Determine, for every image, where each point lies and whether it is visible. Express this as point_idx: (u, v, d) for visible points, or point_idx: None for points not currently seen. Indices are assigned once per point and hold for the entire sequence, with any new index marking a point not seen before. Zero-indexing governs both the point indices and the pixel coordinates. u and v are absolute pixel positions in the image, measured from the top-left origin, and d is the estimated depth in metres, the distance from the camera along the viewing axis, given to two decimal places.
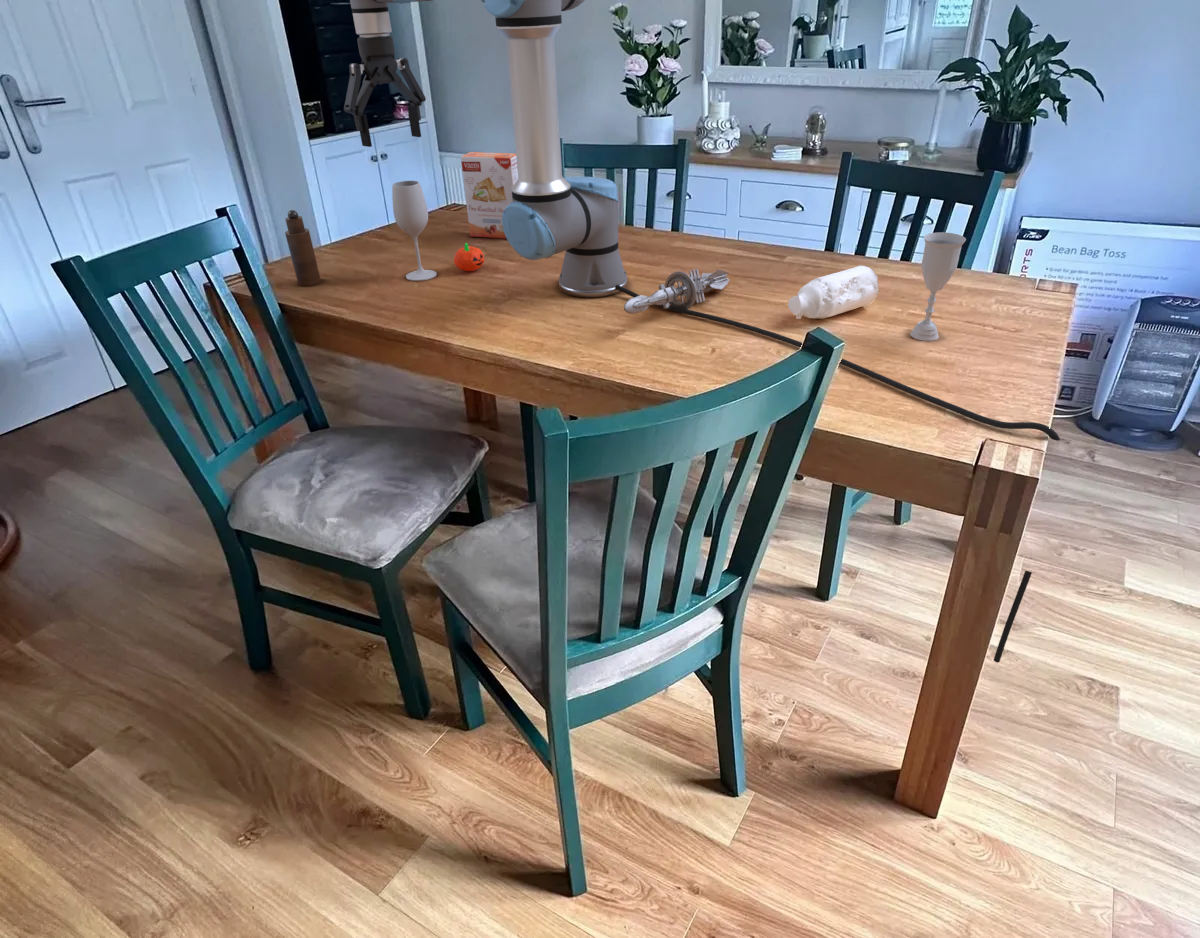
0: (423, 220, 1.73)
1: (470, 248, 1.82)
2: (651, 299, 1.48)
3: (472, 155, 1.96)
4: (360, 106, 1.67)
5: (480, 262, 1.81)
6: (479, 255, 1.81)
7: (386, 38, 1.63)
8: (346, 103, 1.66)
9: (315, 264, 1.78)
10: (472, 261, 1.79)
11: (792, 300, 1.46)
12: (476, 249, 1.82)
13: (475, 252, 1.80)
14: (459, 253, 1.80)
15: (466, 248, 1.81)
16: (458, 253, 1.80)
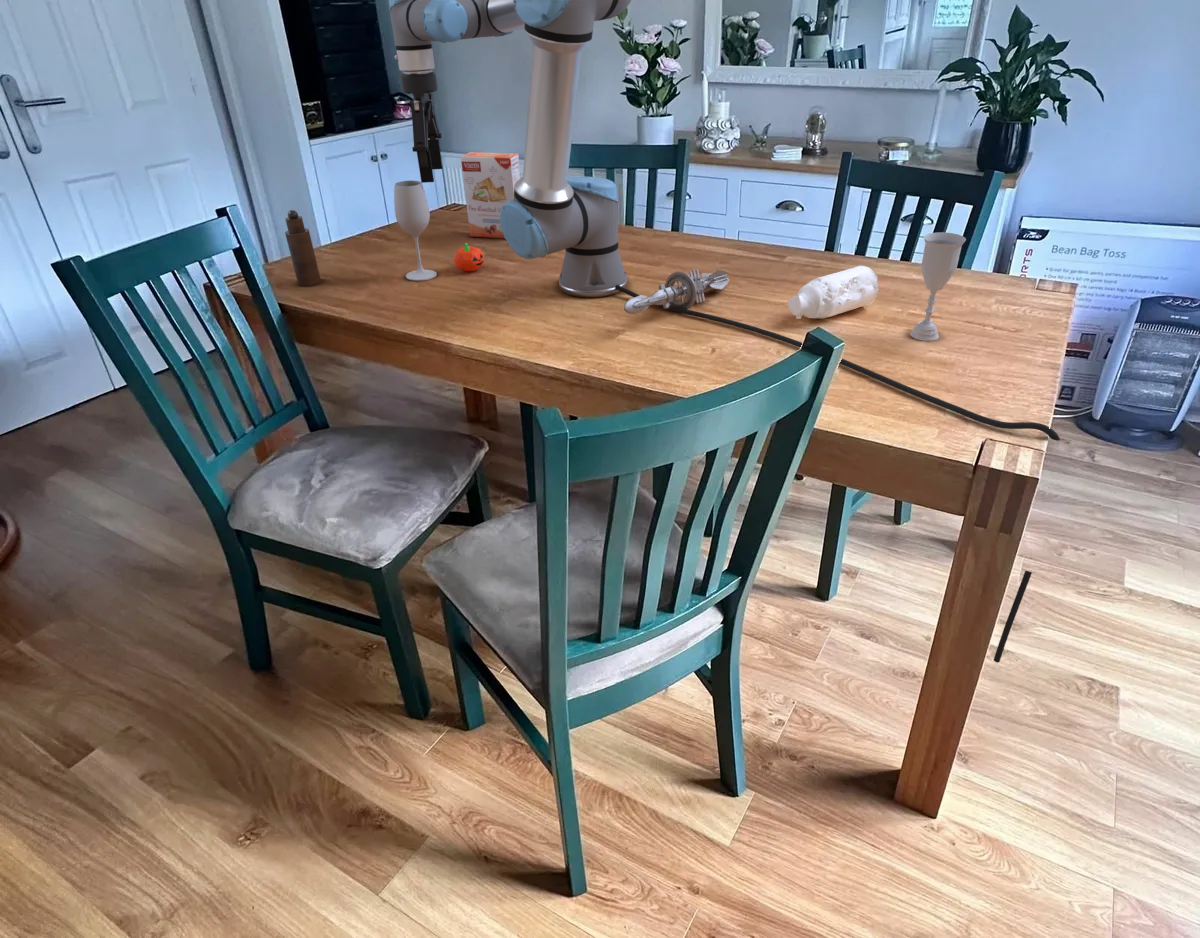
0: (424, 220, 1.73)
1: (470, 248, 1.82)
2: (651, 299, 1.48)
3: (472, 155, 1.96)
4: (426, 142, 1.65)
5: (480, 262, 1.81)
6: (479, 255, 1.81)
7: (434, 73, 1.65)
8: (416, 140, 1.63)
9: (315, 264, 1.78)
10: (472, 261, 1.79)
11: (792, 300, 1.46)
12: (476, 249, 1.82)
13: (475, 252, 1.80)
14: (459, 253, 1.80)
15: (466, 248, 1.81)
16: (458, 253, 1.80)
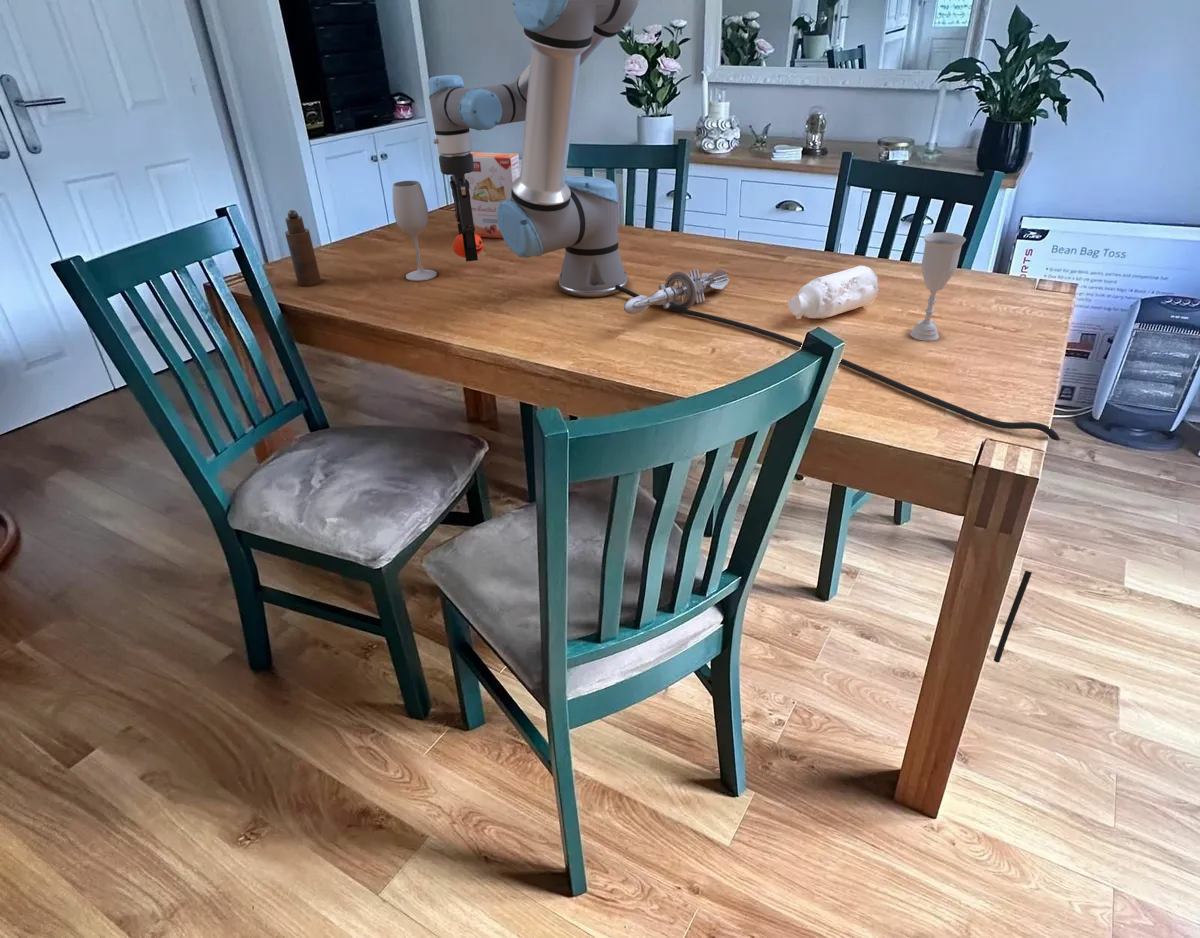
0: (423, 220, 1.73)
1: None
2: (651, 299, 1.48)
3: None
4: None
5: (479, 248, 1.79)
6: (478, 241, 1.79)
7: None
8: (466, 224, 1.71)
9: (315, 264, 1.78)
10: None
11: (792, 300, 1.46)
12: (475, 235, 1.80)
13: None
14: (458, 239, 1.78)
15: None
16: (457, 239, 1.78)
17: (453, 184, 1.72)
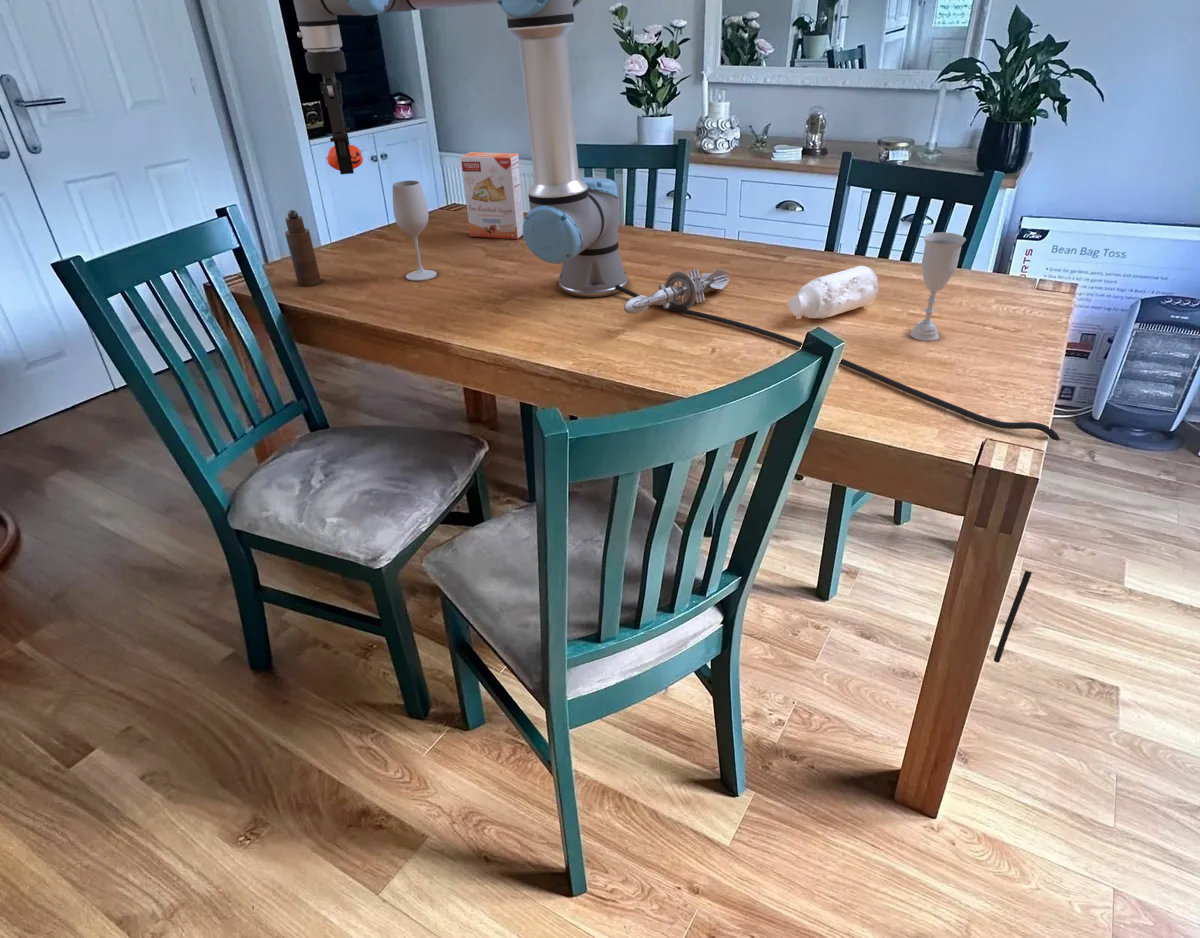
0: (423, 220, 1.73)
1: None
2: (651, 299, 1.48)
3: (472, 155, 1.96)
4: None
5: (356, 160, 1.63)
6: (355, 152, 1.63)
7: None
8: (335, 130, 1.55)
9: (315, 264, 1.78)
10: None
11: (792, 300, 1.46)
12: (352, 146, 1.63)
13: (350, 149, 1.62)
14: (332, 149, 1.62)
15: None
16: (331, 149, 1.62)
17: (322, 85, 1.55)
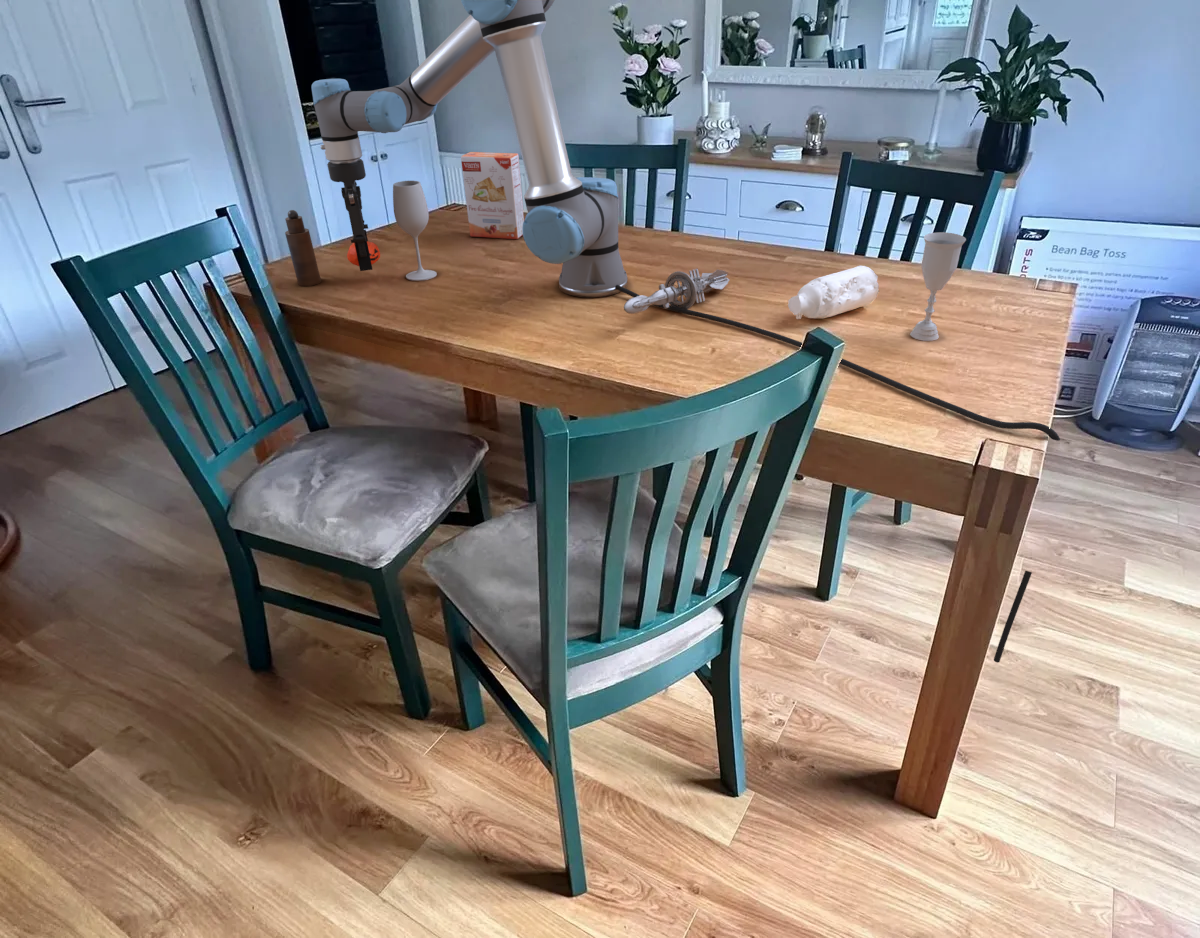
0: (423, 220, 1.73)
1: None
2: (651, 299, 1.48)
3: (472, 155, 1.96)
4: (364, 233, 1.68)
5: (374, 257, 1.74)
6: (373, 250, 1.74)
7: (362, 160, 1.66)
8: (356, 233, 1.66)
9: (315, 264, 1.78)
10: None
11: (792, 300, 1.46)
12: (370, 243, 1.74)
13: (369, 247, 1.73)
14: (351, 248, 1.73)
15: None
16: (351, 248, 1.73)
17: (343, 191, 1.66)
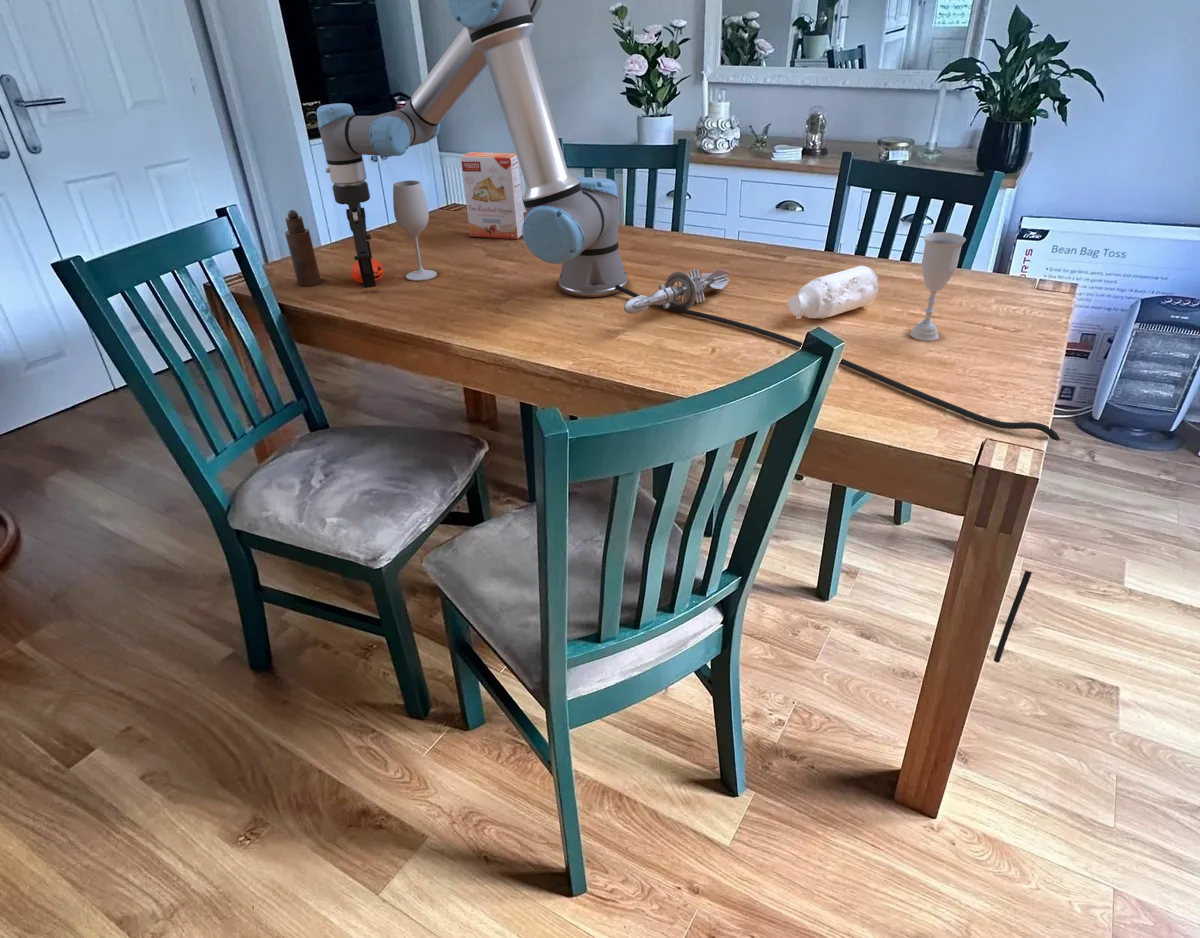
0: (423, 220, 1.73)
1: None
2: (651, 299, 1.48)
3: (472, 155, 1.96)
4: None
5: (378, 274, 1.76)
6: (376, 267, 1.76)
7: (366, 182, 1.68)
8: (359, 250, 1.66)
9: (315, 264, 1.78)
10: None
11: (792, 300, 1.46)
12: (374, 261, 1.77)
13: (372, 265, 1.75)
14: (355, 265, 1.75)
15: None
16: (354, 265, 1.75)
17: (348, 213, 1.69)
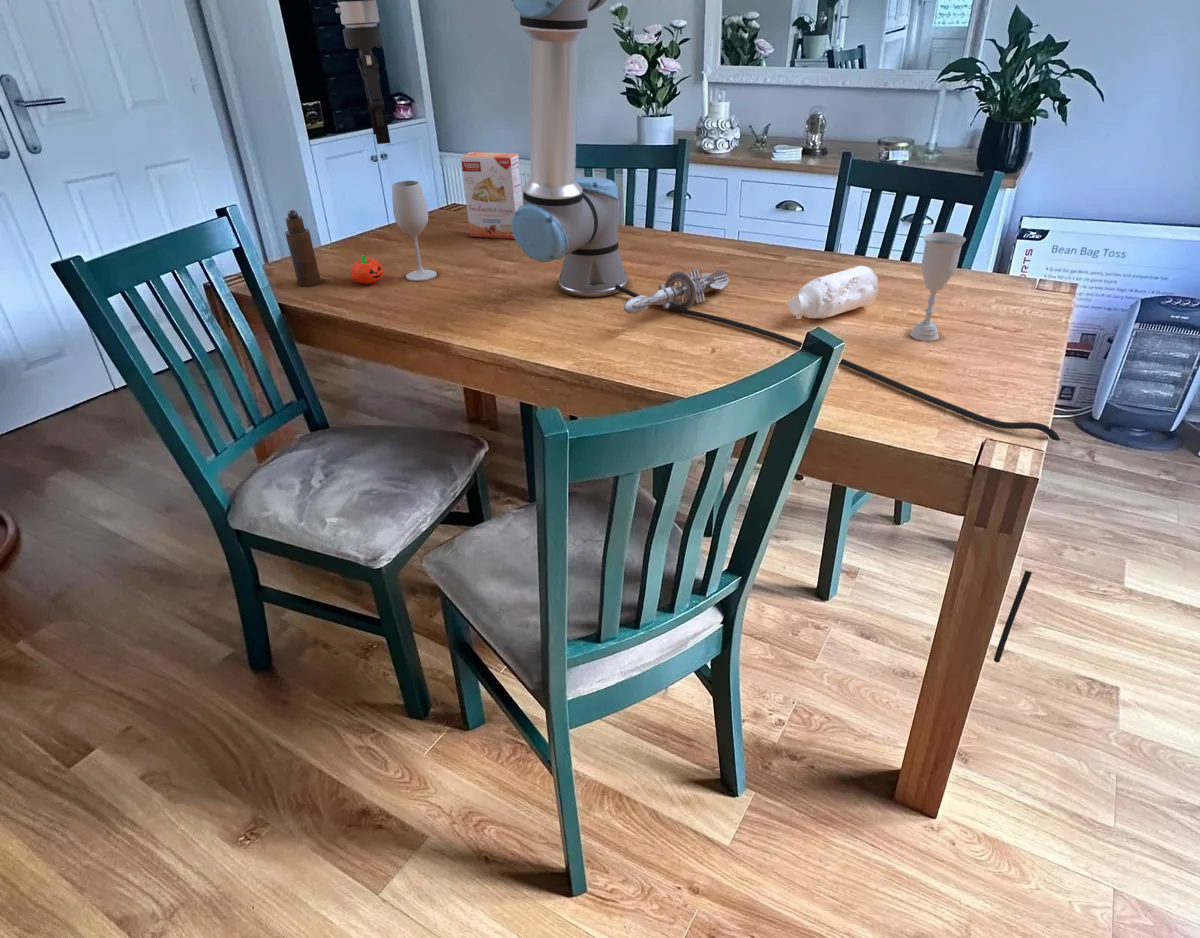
0: (423, 220, 1.73)
1: (368, 260, 1.77)
2: (651, 299, 1.48)
3: (472, 155, 1.96)
4: None
5: (378, 274, 1.76)
6: (376, 267, 1.76)
7: None
8: (373, 97, 1.54)
9: (315, 264, 1.78)
10: (369, 273, 1.74)
11: (792, 300, 1.46)
12: (374, 261, 1.77)
13: (372, 265, 1.75)
14: (355, 265, 1.75)
15: (363, 260, 1.76)
16: (354, 265, 1.75)
17: (360, 60, 1.57)
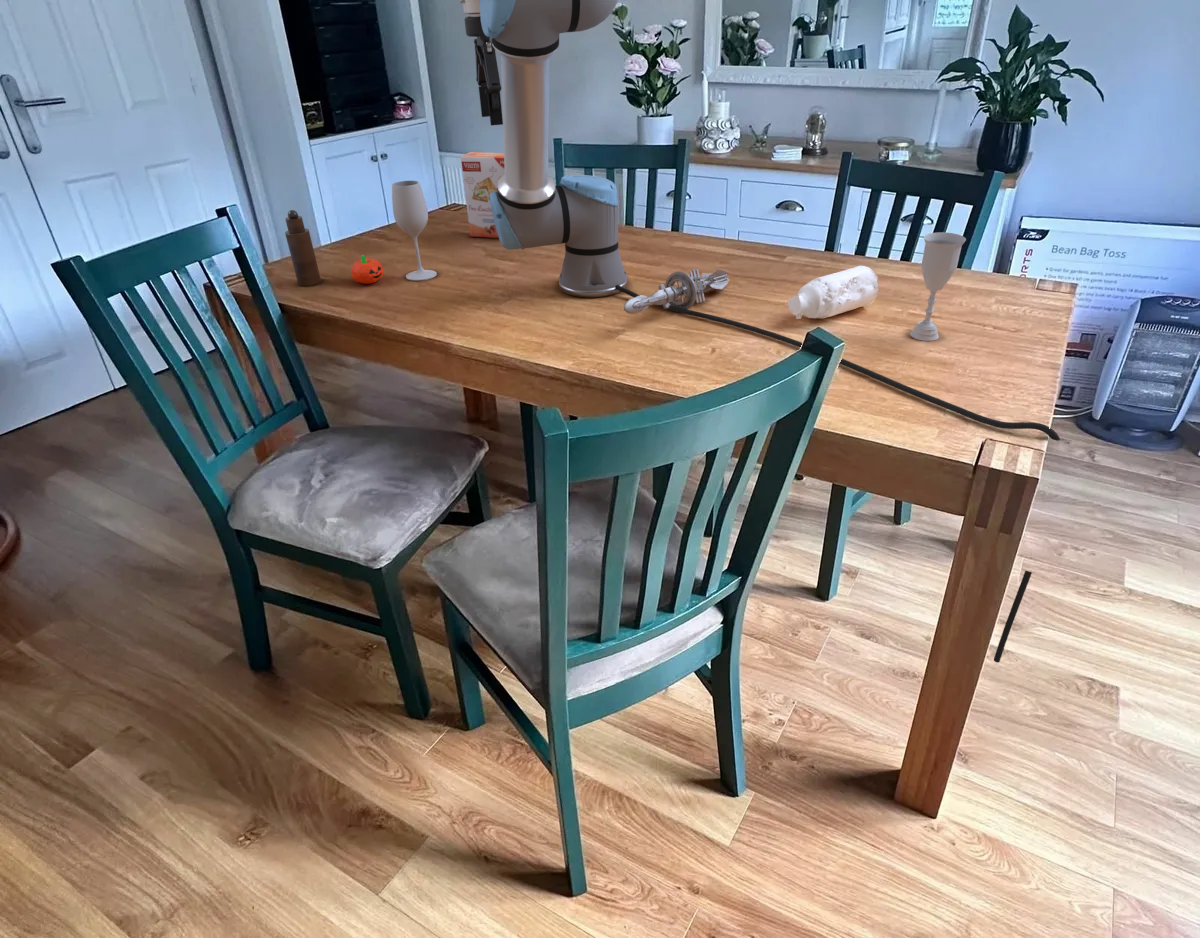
0: (422, 220, 1.73)
1: (368, 260, 1.77)
2: (651, 299, 1.48)
3: (472, 155, 1.96)
4: None
5: (378, 274, 1.76)
6: (376, 267, 1.76)
7: None
8: (492, 81, 1.66)
9: (315, 264, 1.78)
10: (369, 273, 1.74)
11: (792, 300, 1.46)
12: (374, 261, 1.77)
13: (372, 265, 1.75)
14: (355, 265, 1.75)
15: (363, 260, 1.76)
16: (354, 265, 1.75)
17: (478, 47, 1.69)
